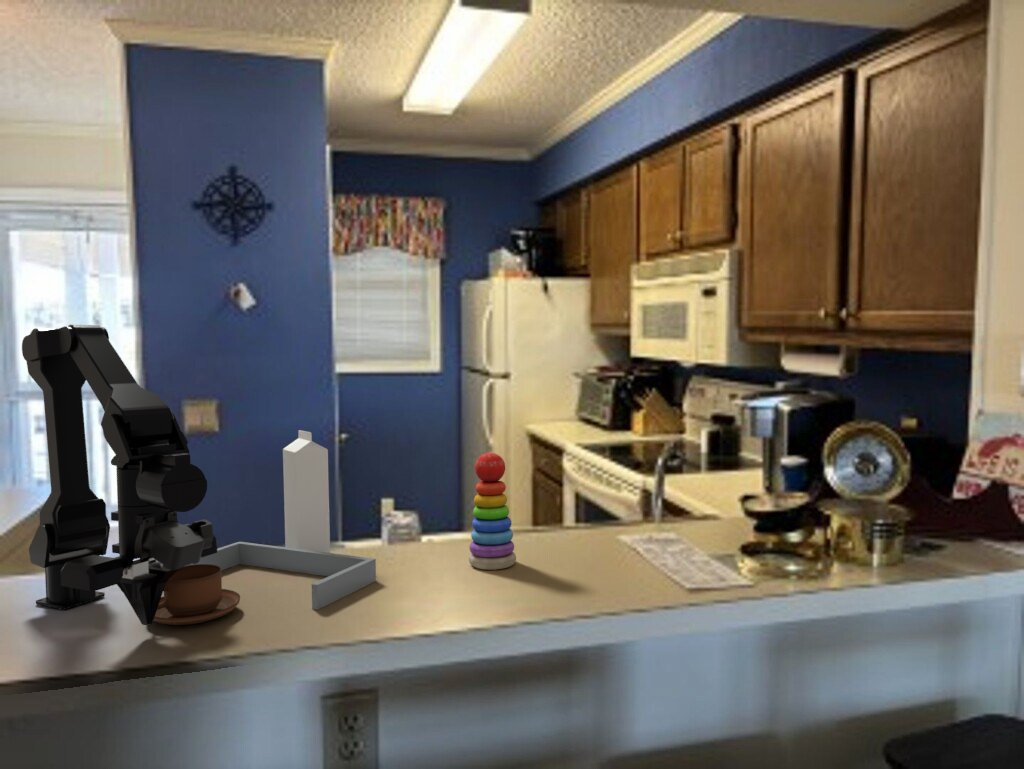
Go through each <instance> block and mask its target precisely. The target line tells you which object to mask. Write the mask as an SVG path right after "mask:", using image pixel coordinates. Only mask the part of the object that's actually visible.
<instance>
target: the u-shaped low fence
mask: <svg viewBox="0 0 1024 769" xmlns="http://www.w3.org/2000/svg"><path fill="white" fill-rule="evenodd" d="M197 564H211V565H217V566H219V567H221V572H222V571H224V570H227V569H230V568H232V567H235V566H238V565H246V566H253V567H260V568H267V569H274V570H281V571H288V572H295V573H302V574H310V575H316V576H317V575H318V576H322V577H323V576H324V578H321V579H320V580H317V581H316V582H313V583H311V609H312V610H320V609H323V608H324V607H326V606H329V605H331V604H333V603H334V602H337V601H339V600H341V599H342V598H344V597H347V596H348V595H350V594H352V593H353V594H354V592H356V591H359V590H361V589H362V588H364V587H367V586H368V585H371V584H373V583H375V582H377V565H376V564H377V563H376V558H374V557H373V558H372V557H366V556H365V557H364V556H355V555H348V554H341V553H334V552H330V553H326V552H318V551H310V550H302V549H294V548H286V547H285V546H277V545H270V544H260V543H254V542H245V541H238V542H233V543H231V544H228V545H225V546H221V547H217V553H215V554H211V555H208V556H205V557H201V558H200V561H199V562H198V563H196V564H193V563H192V564H189V565H197ZM186 566H188V565H186Z"/></svg>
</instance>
